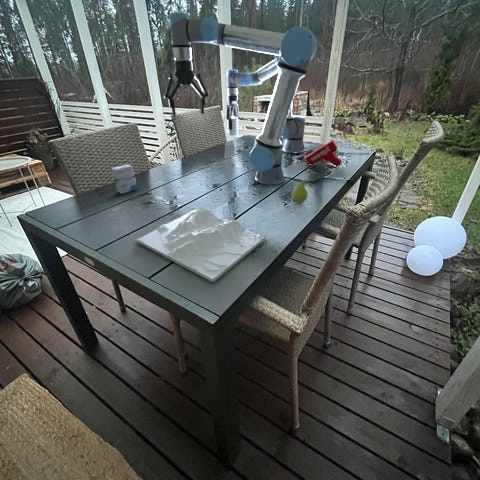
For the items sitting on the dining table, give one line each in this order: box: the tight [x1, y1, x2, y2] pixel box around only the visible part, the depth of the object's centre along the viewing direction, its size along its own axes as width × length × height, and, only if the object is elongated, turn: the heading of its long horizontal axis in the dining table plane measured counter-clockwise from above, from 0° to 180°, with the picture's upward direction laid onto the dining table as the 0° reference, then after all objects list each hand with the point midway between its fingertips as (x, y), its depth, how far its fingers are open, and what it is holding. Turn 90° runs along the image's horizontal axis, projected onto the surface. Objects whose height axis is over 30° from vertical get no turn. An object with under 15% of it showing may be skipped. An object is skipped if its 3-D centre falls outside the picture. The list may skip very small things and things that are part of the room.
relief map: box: [136, 206, 266, 283], centre depth 93 cm, size 27×35×5 cm
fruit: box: [291, 174, 311, 204], centre depth 118 cm, size 7×8×12 cm
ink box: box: [110, 164, 138, 195], centre depth 131 cm, size 8×5×12 cm, turn 135°
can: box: [227, 116, 239, 136], centre depth 207 cm, size 8×8×12 cm
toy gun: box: [304, 139, 342, 169], centre depth 162 cm, size 18×4×15 cm
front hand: (188, 114), depth 127 cm, fingers open, 13 cm apart
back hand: (233, 128), depth 208 cm, fingers closed on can, 8 cm apart
